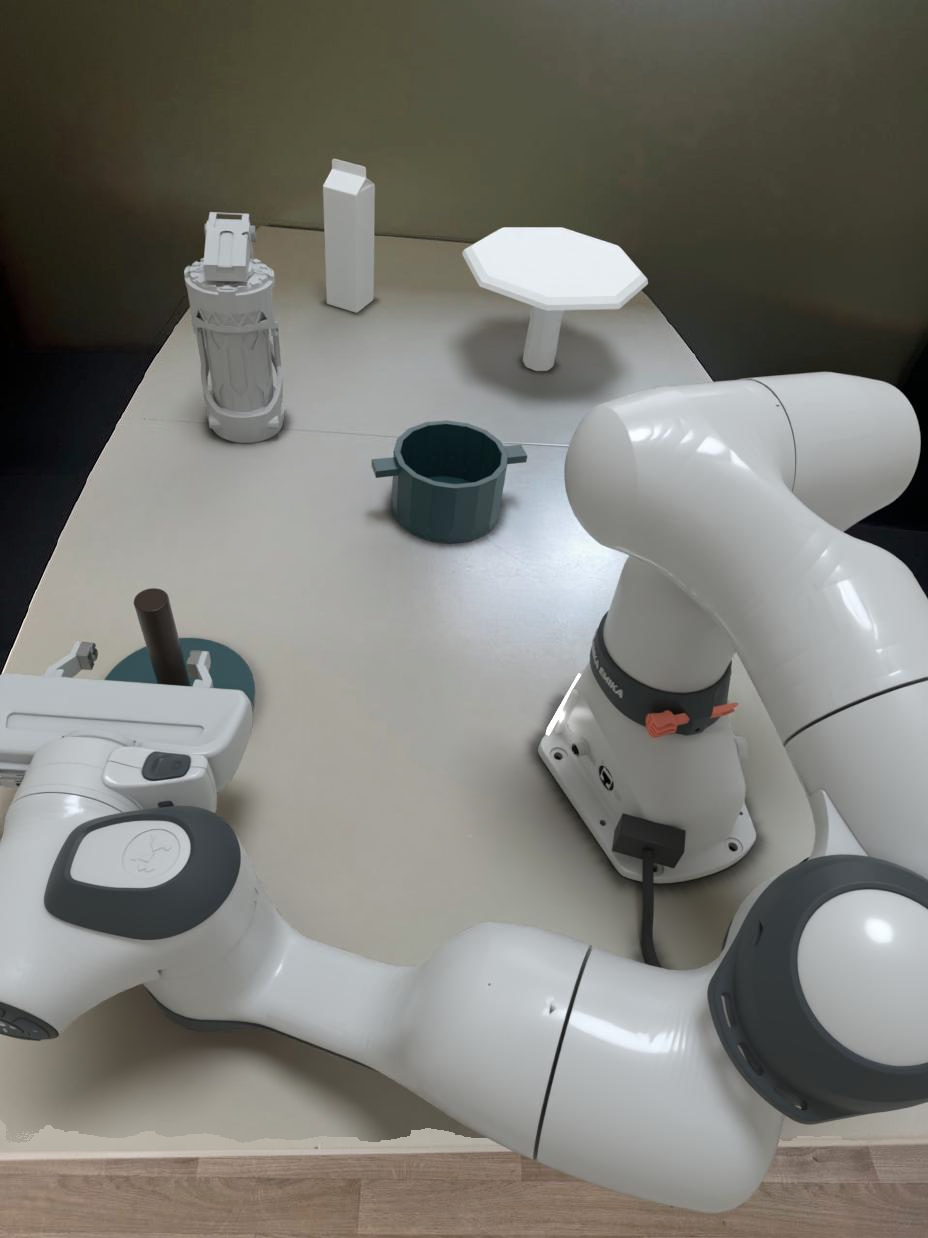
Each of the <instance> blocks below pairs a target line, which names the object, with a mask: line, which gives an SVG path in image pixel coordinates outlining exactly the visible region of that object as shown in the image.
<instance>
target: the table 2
mask: <svg viewBox="0 0 928 1238" xmlns="http://www.w3.org/2000/svg"><path fill="white" fill-rule="evenodd" d="M461 255H462V257H463V258H464V261H465V263H466V265H467V266H468V268H469V270H470V272H471V273H472V275H473V278H474V280H475V281H476V282H477V285H478V286H479V287H480V288H482V289H484V290H485V289H486V290H489V291H491V292H493V293H497V294H499V295H502V296H504V297H507V298H510V299H513V300H516V301H519V302H521V303H523V304H527V305H530V311H529V323H528V328H527V332H526V338H525V344H524V350H523V356H522V362H523V364H524V366H525V367H526V368H528V369H529V370H530V369H531V370H532V371H535V372H547V371H549V370H551V369H552V368H553V367H554V365H555V360H556V355H557V349H558V343H559V336H560V330H561V325H562V322H563V318H564V314H565V311H591V310H593V311H594V310H620V309H621V308H622V307H623V306H625V305H626V304H627V303H628V302H629V301H630V300H632V299H633V298H634V297H635V296H636V295H637V294H638V293H640V292H641V291H642V290H643V289H644V288H645V287H647V285H649V281H648V280H649V279H648V278H647V277H646V275H645V274H644V273H643V272H642V271H641V270H640V268H639V267H638V266H637V265H636V264H635V262H633V260H632V259H631V258H630V257H629V256H628V255H627V253H626V252H625V251H624V250H623V249H622V248H621V246H619V245H617V244H614V243H612V242H608V241H605V240H602V239H599V238H596V237H594V236H593V237H592V236H590V235H587V234H584V233H580V232H577V231H575V230H571V229H568V228H565V227H551V226H550V227H548V226H547V227H545V226H544V227H531V226H530V227H529V226H528V227H527V226H526V227H525V226H522V227H520V226H519V227H518V226H517V227H515V226H514V227H513V226H511V227H510V226H508V227H504V226H503V227H501V228H499V229H496V230H495V231H493V232H491V233H490V234H488V235H487V236H485V237H483V238H482V239H480V240H478V241H476V242H474V243H473V244H471V245H469V246H468V247H466V248H464V249H463V251H462V252H461Z"/></svg>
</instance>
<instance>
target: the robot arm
mask: <svg viewBox="0 0 928 1238" xmlns="http://www.w3.org/2000/svg"><path fill="white" fill-rule="evenodd" d="M921 441H922V440H921V430H920V424H919V420H918V417H917V414H916V412H915V410H914V407H913V405H912V404H911V402H910V401H909V399H908V398H907V397H906V395H905V394H904V393H903V392H902V391H901V390H900V389H898V388H897V387H896V386H894V385H893V384H890V383H889V382H886V381H883V380H878V379H873V378H869V377H868V378H867V377H864V376H859V375H853V374H846V373H839V372H832V371H815V372H805V373H804V372H803V373H791V374H790V373H789V374H781V375H780V374H779V375H767V376H756V377H745V378H743V377H742V378H739V379H732V380H720V381H709V382H696V383H695V382H694V383H683V384H672V385H660V386H654V387H651V388H647V389H645V390H641V391H637V392H634V393H631V394H627V395H624V396H621V397H618V398H615V399H612V400H609V401H606V402H603V403H600V404H598V405H595V406H593V407H592V408H590V409H589V410H588V411H587V412H586V413H585V414H584V416H583V417H582V419H581V420H580V422H579V423H578V424H577V426H576V428H575V430H574V432H573V434H572V436H571V438H570V441H569V443H568V447H567V450H566V454H565V460H564V468H563V470H564V471H563V475H564V476H563V477H564V488H565V493H566V497H567V500H568V504H569V507H570V509H571V511H572V513H573V515H574V516H575V518H576V520H577V521H578V523H579V524H580V526H581V528H583V530H584V531H585V532H586V534H587V535H589V536H590V537H591V538H592V539H593V540H594V541H595V542H597V543H598V544H599V545H600V546H603V547H605V548H608V549H611V550H614V551H617V552H619V553H622V554H624V555H627V556H628V557H627V559H626V560H625V562H624V563H623V567H622V569H621V572H620V575H619V579H618V582H617V584H616V587H615V591H614V593H613V596H612V600H611V603H610V605H609V609H608V610H607V611H606V612H605V613H604V615H603V616H602V618H601V620H600V621H599V623H598V624H599V625H598V626H597V627H596V629H595V632H594V634H593V637H592V641H591V647H590V651H589V661H588V662H587V664H586V666H585V668H584V669H583V671H582V673H581V674H580V673H578V674H577V676H576V677H575V679H574V681H573V682H572V684H571V686H570V688H569V690H568V691H567V693H566V695H565V696H564V698H563V700H562V702H561V704H560V705H559V707H558V708H557V711H556V712H555V714H554V716H553V718H552V719H551V721H550V723H549V724H548V726H547V727H546V732H545V734H544V736H543V737H542V739H541V740H540V743H539V745H538V747H537V753H538V755H539V757H540V759H541V760H542V762H543V764H544V765H545V766H546V768H547V769H548V770H549V772H550V773H551V775H552V776H553V778H554V779H555V781H556V782H557V784H558V785H559V787H560V788H561V790H562V791H563V793H564V794H565V796H566V797H567V798H568V800H569V802H570V803H571V804H572V806H573V808H574V809H575V811H576V812H577V813H578V815H579V816H580V818H581V820H582V821H583V822H584V824H585V825H586V827H587V828H588V830H589V832H591V834H592V836H593V837H594V839H595V840H596V842H597V843H598V845H599V846H600V847H601V849H602V850H603V852H604V853H605V855H606V856H607V858H608V860H609V861H610V862H611V864H612V865H613V867H614V868H615V870H616V871H617V872H618V873H619V874H620V875H621V876H622V877H624V878H627V879H630V880H633V881H638V882H640V883H642V888H641V890H642V891H641V892H642V893H641V895H642V896H641V897H642V899H641V901H642V905H641V908H642V912H641V928H640V929H641V930H640V931H641V933H640V934H641V935H640V936H641V937H640V938H641V945H642V951H643V955H644V958H645V961H646V963H643V962H641V961H638V960H635V959H632V958H629V957H626V956H623V955H620V954H617V953H615V952H612V951H610V950H607V949H604V948H601V947H599V946H597V945H594V946H592V944H590V943H587V942H584V941H582V940H579V939H576V938H574V937H570V936H567V935H564V934H562V933H559V932H555V931H552V930H548V929H545V928H541V927H536V926H531V925H525V924H519V923H510V922H503V921H496V920H495V921H493V920H487V921H483V922H480V923H477V924H473V925H472V926H469V927H467V928H465V929H463V930H461V931H459V932H458V933H456V934H454V935H453V936H451V937H450V938H449V939H447V940H446V941H445V942H444V943H443V944H441V945H440V946H439V947H438V948H437V949H436V951H435V952H434V953H432V955H431V956H430V957H429V959H427V960H425V961H424V962H421V963H419V964H415V965H414V964H413V965H394V964H389V963H386V962H382V961H379V960H377V959H373V958H370V957H368V956H364V955H360V954H357V953H355V952H352V951H351V952H350V951H349V950H345V949H341V948H339V947H337V946H336V947H335V946H332V945H329V944H326V943H324V942H320V941H317V940H314V939H311V938H308V937H307V936H304V935H303V934H301V933H299V932H298V931H297V930H296V929H295V928H294V927H293V926H291V924H290V923H289V922H288V921H287V920H286V919H285V918H284V916H283V915H282V914H281V912H280V911H279V909H277V907H276V906H275V905H274V903H273V902H272V901H271V899H270V898H269V895H268V893H267V892H266V890H265V888H264V886H263V884H262V882H261V880H260V879H259V876H258V874H257V873H256V870H255V867H254V865H253V863H252V862H251V859H250V857H249V856H248V853H247V851H246V850H245V848H244V846H243V844H242V843H241V841H240V839H239V837H238V836H237V834H236V832H235V831H234V829H233V828H232V826H231V825H230V824H229V823H228V822H227V821H226V820H225V819H224V818H223V817H221V816H220V815H218V814H216V812H217V806H218V792H219V791H220V790H222V789H224V788H225V787H227V786H228V785H229V784H230V782H231V781H232V780H233V778H234V777H235V775H236V773H237V771H238V770H239V767H240V765H241V763H242V760H243V757H244V754H245V752H246V750H247V746H248V743H249V740H250V738H251V734H252V729H253V724H254V717H253V715H254V714H253V713H254V712H253V707H252V706H251V702H250V700H249V699H248V697H247V696H246V694H245V693H244V692H243V691H241V690H232V689H217V688H213V682H212V679H211V677H210V674H209V669H210V664H211V659H210V653H209V652H208V651H195V650H191V651H190V657H189V658H188V660H187V663H186V665H187V669H188V670H189V671H188V675H189V677H191V678H199V680H197V679H196V680H195V681H194V684H193V687H190V686H177V685H163V684H150V683H136V682H123V681H109V680H105V679H95V678H82V677H81V678H80V677H75V676H76V675H78V674H79V673H80V672H82V670H83V671H93V668H94V666H95V662H96V661H97V660H98V658H99V657H98V656H99V652H98V649H97V648H96V647H97V644H96V643H95V642H89V641H80V640H79V641H78V640H77V641H75V642H74V643H73V646H72V648H71V649H70V651H69V653H68V654H66V655H65V656H63V657H62V658H60V659H58V660H57V661H55V662H54V663H52V664H50V665H49V666H47V667H46V669H45V671H44V673H43V674H42V675H41V674H40V675H39V674H27V673H17V672H16V673H13V672H4V673H1V674H0V787H3V788H4V787H5V788H17V790H16V792H15V794H14V797H13V799H12V801H11V803H10V805H9V807H8V809H7V812H6V814H5V818H4V822H3V823H4V825H3V833H2V836H1V839H0V1035H3V1036H6V1037H10V1038H14V1039H17V1040H18V1039H19V1040H22V1041H35V1042H40V1041H46V1040H54V1039H57V1038H59V1037H60V1036H62V1035H63V1034H64V1032H66V1030H67V1029H69V1027H70V1026H71V1025H72V1024H73V1023H74V1022H75V1021H76V1020H77V1019H78V1018H80V1017H81V1016H82V1015H84V1014H85V1013H87V1012H88V1011H91V1010H92V1009H94V1008H95V1007H96V1006H98V1005H99V1004H102V1003H103V1002H105V1001H107V1000H108V999H111V998H112V997H114V996H116V995H118V994H120V993H123V992H126V991H127V990H129V989H131V988H134V987H137V986H139V985H143V986H144V988H145V989H146V990H147V992H148V994H149V995H150V997H151V998H152V1000H153V1001H154V1003H155V1004H156V1006H157V1008H158V1009H159V1010H160V1012H161V1013H162V1014H163V1015H164V1016H165V1017H166V1018H167V1019H168V1020H169V1021H170V1022H171V1023H174V1024H176V1025H177V1026H179V1027H182V1028H184V1029H187V1030H188V1031H189V1030H190V1031H194V1032H199V1033H201V1032H202V1033H221V1032H222V1033H224V1032H236V1031H261V1032H268V1033H273V1034H275V1035H280V1036H283V1037H286V1038H288V1039H291V1040H294V1041H296V1042H298V1043H302V1044H304V1045H307V1046H309V1047H312V1048H314V1049H317V1050H319V1051H322V1052H325V1053H327V1054H331V1055H333V1056H335V1057H338V1058H341V1059H342V1060H346V1061H349V1062H351V1063H353V1064H355V1065H356V1064H357V1065H358V1066H361V1067H364V1068H367V1069H370V1070H372V1071H374V1072H377V1073H379V1074H381V1075H384V1076H386V1077H387V1078H388V1079H390V1080H392V1081H394V1082H395V1083H397V1084H399V1085H400V1086H402V1087H403V1088H405V1089H407V1090H409V1092H411V1093H413V1094H415V1095H416V1096H418V1097H419V1098H421V1099H422V1100H424V1101H426V1102H427V1103H429V1104H430V1105H431V1106H433V1107H434V1108H436V1109H438V1110H439V1111H441V1112H442V1113H444V1114H445V1115H447V1116H448V1117H450V1118H452V1119H453V1120H455V1122H456V1121H457V1122H458V1123H459V1124H461V1125H463V1126H465V1127H466V1128H468V1129H470V1130H472V1131H474V1132H476V1133H478V1134H479V1135H481V1136H483V1137H485V1138H486V1139H488V1140H490V1141H492V1142H494V1143H496V1144H498V1145H499V1146H501V1147H503V1148H505V1149H507V1150H510V1151H512V1152H514V1153H515V1154H518V1155H520V1156H522V1157H525V1158H527V1159H529V1160H531V1161H536V1162H537V1164H541V1165H543V1166H546V1167H548V1168H551V1169H553V1170H555V1171H558V1172H559V1173H563V1174H564V1175H567V1176H569V1177H572V1178H575V1179H578V1180H581V1181H584V1182H586V1183H589V1184H591V1185H594V1186H598V1187H600V1188H603V1189H607V1190H610V1191H613V1192H616V1193H620V1194H622V1195H626V1196H630V1197H633V1198H636V1199H641V1200H644V1201H648V1202H651V1203H656V1204H660V1205H663V1206H668V1207H670V1208H678V1209H682V1210H688V1211H691V1212H692V1211H693V1212H698V1213H703V1214H720V1213H726V1212H728V1211H732V1210H735V1209H736V1208H738V1207H739V1206H742V1205H743V1204H744V1203H745V1202H747V1201H748V1200H749V1199H750V1198H751V1197H752V1196H753V1195H754V1193H755V1192H756V1191H757V1190H758V1189H759V1187H760V1186H761V1185H762V1183H763V1181H764V1180H765V1178H766V1176H767V1174H768V1173H769V1171H770V1170H771V1167H772V1164H773V1162H774V1160H775V1157H776V1154H777V1151H778V1148H779V1147H778V1146H779V1142H780V1139H781V1133H782V1129H783V1125H784V1121H785V1119H786V1118H788V1119H790V1120H792V1121H793V1122H796V1123H797V1124H801V1125H808V1126H813V1125H819V1124H823V1123H829V1122H835V1121H841V1120H844V1119H851V1118H855V1117H860V1116H865V1115H872V1114H878V1113H887V1112H894V1111H898V1110H904V1109H909V1108H912V1107H916V1106H920V1105H923V1104H926V1103H928V597H927V595H926V593H925V591H924V590H923V589H922V587H921V585H920V584H919V582H918V580H917V578H916V577H915V576H914V574H913V572H912V571H911V569H910V568H909V567H908V566H907V564H905V563H904V562H903V561H902V560H900V559H899V558H898V557H896V555H894V554H893V553H891V552H890V551H888V550H886V549H884V548H882V547H880V546H878V545H875V544H873V543H870V542H868V541H865V540H862V539H859V538H856V537H854V536H852V535H850V534H848V533H846V531H847V530H849V529H850V528H851V527H853V526H854V525H856V524H857V523H859V522H860V521H862V520H863V519H866V518H867V517H868V516H871V515H872V514H874V513H875V512H877V511H879V510H881V509H883V508H885V507H886V506H889V505H890V504H891V503H893V502H895V501H896V499H898V498H899V497H900V496H901V495H902V494H903V493H904V492H905V491H906V489H907V488H908V486H909V485H910V483H911V481H912V479H913V477H914V475H915V472H916V471H917V468H918V464H919V460H920V454H921ZM735 654H737V656H738V658H739V660H740V663H741V664H742V665H743V667H744V669H745V671H746V673H747V675H748V677H749V679H750V681H751V683H752V684H753V687H754V688H755V691H756V692H757V694H758V696H759V698H760V700H761V703H762V704H763V707H764V708H765V710H766V712H767V715H768V717H769V720H770V721H771V723H772V725H773V728H774V730H775V731H776V734H777V735H778V738H779V740H780V742H781V744H782V747H783V748H784V751H785V753H786V756H787V758H788V760H789V761H790V764H791V766H792V769H793V770H794V771H795V774H796V776H797V779H798V780H799V782H800V785H801V787H802V790H803V793H804V795H805V797H806V799H807V802H808V805H809V809H810V811H811V815H812V819H813V824H814V843H813V847H812V850H811V852H810V855H809V856H808V857H806V858H804V859H803V860H801V861H800V862H799V863H798V864H796V865H794V866H792V867H789V868H787V869H784V870H782V871H780V872H778V873H775V874H774V875H772V876H770V877H768V878H766V879H765V880H764V881H762V882H761V883H760V884H758V885H757V886H756V887H755V888H754V889H753V890H751V892H750V893H748V895H746V896H745V899H744V900H743V901H742V902H741V904H740V905H739V907H738V909H737V911H736V913H735V914H734V916H733V917H732V919H731V921H730V922H729V925H728V927H727V929H726V931H725V935H724V937H723V941H722V944H721V950H720V955H719V956H718V957H717V958H716V959H714V960H713V961H712V962H710V963H708V964H706V965H704V966H701V967H698V968H695V969H694V968H693V969H685V970H684V969H682V970H681V969H679V970H678V969H669V968H664V967H662V965H661V963H660V961H659V958H658V956H657V953H656V949H655V944H654V932H653V931H654V913H655V902H654V901H655V898H654V897H655V895H654V893H655V892H654V891H655V890H654V889H655V888H654V886H655V884H673V883H680V882H686V881H691V880H696V879H700V878H703V877H706V876H709V875H712V874H716V873H719V872H721V871H723V870H725V869H727V868H729V867H731V866H733V865H735V864H736V863H738V862H739V861H740V860H741V859H743V858H744V857H746V855H747V854H748V852H749V851H750V850H751V848H752V847H753V845H754V843H755V841H756V838H757V831H756V829H755V826H754V823H753V821H752V818H751V816H750V812H749V810H748V808H747V805H746V802H745V798H746V794H747V785H746V781H745V776H744V773H743V769H742V764H741V762H743V761H745V760H746V759H747V758H748V754H749V747H748V743H747V741H746V739H745V738H744V737H743V736H740V735H734V732H733V728H732V724H731V721H730V717H729V715H730V714H732V713H734V712H736V709H735V708H736V707H738V706H739V703H738V702H731V703H729V698H728V697H729V691H730V682H731V677H732V664H733V658H734V656H735ZM556 757H558V758H559V759H557V758H556ZM730 848H732V849H733V850H734V851H733V850H732V849H730ZM654 869H655V871H654Z"/></svg>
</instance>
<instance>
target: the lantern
mask: <svg viewBox="0 0 928 1238" xmlns="http://www.w3.org/2000/svg"><path fill="white" fill-rule="evenodd" d="M217 215H223V212H219V211H218V212H216V211H214V212H213V211H209V215H208V220H206V223H204V229H203V231H204V237H205V242H204V256H203V257H202V258H200V259H199V260H200V261H197V260H195V261H194V262H193V263H192V264H191V265H187V266H186V267H185V268H184V271H183V273H184V274H183V276H184V282H185V287H186V290H187V295H188V303H189V309H190V314H191V326H192V328H193V333H194V335H196V340H197V347H198V354H199V358H200V361H199V362H200V378H201V387H202V394H203V399H204V402H205V413H206V415H207V419H208V426H209V429H212V430H213V431H214V432H215V434H216V435H217V436H218V437H220V438H222V439H224V440H225V441H230V442H232V443H237V444H239V443H241V444H250V443H251V444H252V443H258V442H259V443H260V442H262V441H266V440H268V439H271V438H273V437H274V436H276V435H277V434H278V433H280V431H281V429H282V428H283V424H284V421H285V420H284V419H285V413H286V412H285V411H286V408H285V403H284V400H283V399H284V382H283V370H282V369H283V368H282V360H281V358H282V357H281V346H280V334H279V333H280V332H279V321H278V320H275V310H274V309H275V308H274V298H273V297H274V296H273V289H274V288H275V285H276V280H275V279H276V278H275V271H274V270H273V269H272V268H270V267H268V266H267V264H265V263H262V261H261V260H260V259H258V258H255V257H254V249H253V248H254V247H253V243H257V228H256V225H251V221H250V213H237V212H225V215H228V216H229V215H231V216H241V219H232V218H231V219H230V218H217ZM270 335H271V337H272V340H273V342H272V340H271V339H270V338H271V337H270ZM273 368H274V370H275V373H276V377H277V378H276V385H275V386H274V379H273V378H274V377H273ZM209 377H210V383H211V390H209Z"/></svg>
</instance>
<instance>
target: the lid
mask: <svg viewBox="0 0 928 1238" xmlns="http://www.w3.org/2000/svg"><path fill="white" fill-rule="evenodd" d="M133 606H134V609H135V612H136V616H137V620H138V623H139V627H140V629H141V633H142V636H143V640H144V643H145V646H143V647H141V648H139V649H137V650H135V651H134V652H132V653H130V654H129V655H127V656H126V657H125V658H123V659H122V660H121V661H119V662H118V663H117V664H116V665H115V666H114V667H113V668H112V669H111V670H110V671H109V673H107V675H106V676H105V678H104V680H109V681H123V682H136V683H150V684H163V685H177V686H190V687H193V684H194V681H195V680H196V679H197V680H199V678H191V677H189V675H188V671H189V670H188V669H187V665H186V663H187V660H188V658H189V657H190V651H191V650H195V651H208V652H209V653H210V659H211V664H210V669H209V674H210V677H211V679H212V682H213V688H217V689H232V690H241V691H243V692H244V693H245V694H246V696H247V697H248V699H249V700H250V702H251V706H252V708H253V706H254V704H255V700H256V699H255V698H256V685H255V684H256V683H255V679H254V674H253V671H252V670H251V667H250V666H249V665H248V663H247V662H246V660H245V659H244V658H243V657H242V656H241V655H240V654H239V653H238V652H236V651H235V650H233V649H232V648H231V647H229V646H227V645H224V644H222V643H220V642H217V641H214V640H211V639H205V638H201V637H200V638H199V637H179V634H178V630H177V625H176V621H175V617H174V613H173V609H172V606H171V601H170V598H169V595H168V593H167V592H166V590H164V589H161V588H157V587H156V588H155V587H151V588H146V589H143V590H141V591H140V592H138V593H137V594H136V596H135V597H134V599H133Z"/></svg>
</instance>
